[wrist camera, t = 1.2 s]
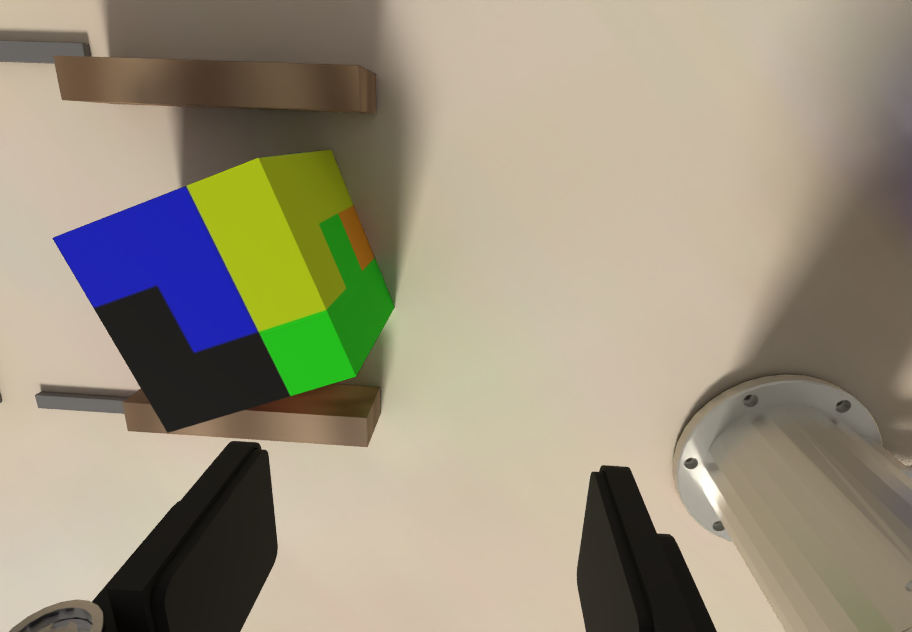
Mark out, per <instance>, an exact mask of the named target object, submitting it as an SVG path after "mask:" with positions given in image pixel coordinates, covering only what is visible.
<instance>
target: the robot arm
mask: <svg viewBox="0 0 912 632" xmlns="http://www.w3.org/2000/svg"><path fill="white" fill-rule="evenodd" d="M673 478H674V483H675V487H676V490H677V492H678V494H679V496H680V499H681V501H682V503H683V504H684V506H685V508H686V509H687V511H688V512H689V514H690V516H691V517H692V518H693V519H694V520H695V521H696V522H697V523H698V524H699V525H700V526H702V527H703V528H704V529H706V530H707V531H709V532H710V533H712V534H714V535H716V536H718V537H721V538H723V539H725V540H728V541H731V542H733V543H734V545H735V546H736V548H737V550H738V551H739V553H740V555H741V556H742V558H743V560H744V562H745V563H746V565H747V567H748V568H749V570H750V572H751V573H752V575H753V577H754V579H755V580H756V582H757V584H758V585H759V587H760V589H761V590H762V592H763V594H764V596H765V597H766V599H767V601H768V602H769V604H770V606H771V607H772V609H773V611H774V613H775V614H776V616H777V618H778V619H779V621H780V623H781V624H782V626H783V628H784V630H785V631H786V632H912V465H911V466H905V465H904V464H903V463H902V462H900V461H899V460H898V459H897V458H895V457H894V456H893V455H892V454H891V453H889V452H888V451H887V450H886V449H884V448H883V447H882V438H881V434H880V431H879V428H878V425H877V423H876V421H875V420H874V418H873V417H872V415H871V414H870V412H869V410H868V409H867V408H865V407H864V406H863V405H862V404H861V403H860V402H859V401H858V400H857V399H856V398H855V397H853V396H852V395H850V394H849V393H847V392H846V391H845V390H843V389H842V388H840V387H838V386H836V385H834V384H831V383H829V382H827V381H825V380H822V379H818V378H813V377H809V376H805V375H788V374H784V375H774V376H765V377H761V378H757V379H754V380H750V381H746V382H744V383H741V384H739V385H737V386H735V387H732V388H730V389H728V390H726V391H724V392H723V393H721V394H720V395H718V396H717V397H715V398H713V399H712V400H710V401H709V402H708V403H707V404H706V405H705V406H704V407H702V408H701V409H700V410H699V411H698V412H697V413H696V414H695V415H694V417H693V418H692V419H691V420H690V422H689V423H688V424H687V426H686V427H685V428H684V430H683V432H682V434H681V436H680V438H679V440H678V442H677V446H676V449H675V453H674V457H673ZM277 549H278V545H277V535H276V525H275V515H274V505H273V495H272V485H271V475H270V465H269V456H268V452H267V451H266V450H261V446H260V444H259V443H256V442H241V441H232V442H230V443H229V444H228V445H227V446H226V447H225V448H224V450H223V451H222V452H221V453H220V454H219V456H218V457H217V458H216V459H215V460H214V461H213V463H212V464H211V465H210V466H209V467H208V469H207V470H206V471H205V472H204V473H203V475H202V476H201V477H200V478H199V479H198V481H197V482H196V483H195V484H194V485H193V486H192V488H191V489H190V490H189V491H188V492H187V494H186V495H185V496H184V497H183V498H182V500H181V501H179V502H177V503H176V504H175V505H174V506H173V507H172V508H171V509H170V510H169V512H168V513H167V514H166V515H165V516H164V518H163V519H162V520H161V521H160V522H159V523H158V525H157V526H156V527H155V528H154V529H153V530H152V532H151V533H150V534H149V535H148V536H147V538H146V539H145V540H144V541H143V542H142V543H141V545H140V546H139V547H138V548H137V549H136V551H135V552H134V553H133V554H132V555H131V556H130V558H129V559H128V560H127V561H126V562H125V564H124V565H123V566H122V567H121V568H120V569H119V571H118V572H117V573H116V574H115V575H114V576H113V578H112V579H111V580H110V581H109V582H108V584H107V585H106V586H105V587H104V588H103V589H102V591H101V592H100V593H99V594H98V595H97V597H96V598H95V599H94V600H93V601H92V602H90V601H85V600H71V601H65V602H60V603H57V604H54V605H51V606H49V607H46V608H43V609H42V610H40V611H38V612H36V613H34V614H32V615H30V616H28V617H27V618H25V619H24V620H23V621H21V622H20V623H19V624H17V625H16V626H15V627H13V628H12V629H11V630H10V631H9V632H240V631H241V629H242V627H243V625H244V623H245V621H246V619H247V617H248V615H249V613H250V611H251V609H252V607H253V605H254V603H255V601H256V599H257V597H258V595H259V593H260V591H261V589H262V587H263V585H264V583H265V581H266V579H267V577H268V575H269V573H270V571H271V569H272V567H273V565H274V563H275V560H276V556H277ZM577 585H578V591H579V597H580V602H581V607H582V612H583V618H584V623H585V628H586V632H717V631H716V629H715V627H714V624H713V622H712V620H711V618H710V615H709V613H708V611H707V609H706V607H705V604H704V602H703V600H702V598H701V596H700V593H699V591H698V589H697V587H696V584H695V582H694V580H693V578H692V576H691V573H690V571H689V569H688V567H687V565H686V562H685V560H684V558H683V556H682V553H681V551H680V549H679V547H678V545H677V543H676V541H675V539H674V538H673V537H672V536H671V535H670V534H657V533H656V530H655V528H654V525H653V523H652V521H651V518H650V516H649V513H648V511H647V508H646V506H645V504H644V501H643V499H642V496H641V494H640V492H639V489H638V487H637V484H636V482H635V479H634V477H633V475H632V472H631V470H630V468H628V467H620V466H605V465H602V466H601V468H600V471H599V472H592V473H591V476H590V482H589V489H588V496H587V503H586V510H585V517H584V525H583V532H582V539H581V546H580V553H579V560H578V567H577Z"/></svg>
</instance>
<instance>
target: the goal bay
mask: <svg viewBox="0 0 912 632" xmlns="http://www.w3.org/2000/svg"><path fill="white" fill-rule="evenodd" d="M53 55H54V56H85V57H91V55H90V49H89V45H88V44H83V43H56V42H24V41H0V62H26V63H55V62H54V57H53ZM35 397H36V401H37V405H38V408H46V409H61V410H76V411H92V412H107V413H122V414H125V413H124V408H123V403H122V402H123V401H125V400H126V399H128V398H129V397H114V396H98V395H83V394H67V393H51V392H40V393H38V394H36V395H35ZM1 402H2V400H1V396H0V403H1Z"/></svg>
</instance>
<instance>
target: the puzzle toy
mask: <svg viewBox="0 0 912 632" xmlns="http://www.w3.org/2000/svg"><path fill="white" fill-rule="evenodd" d="M53 240H54V242H55V243H56V245H57V247H58V248H59V250H60V252H61V254H62V255H63V257H64V259H65V260H66V262H67V264H68V265H69V267H70V269H71V270H72V272H73V274H74V276H75V277H76V279H77V281H78V282H79V284H80V286H81V287H82V289H83V291H84V292H85V294H86V296H87V298H88V299H89V301H90V303H91V304H92V306H93V308H94V309H95V311H96V313H97V314H98V316H99V318H100V320H101V321H102V323H103V325H104V326H105V328H106V330H107V331H108V333H109V335H110V336H111V338H112V340H113V342H114V343H115V345H116V347H117V348H118V350H119V352H120V353H121V355H122V357H123V359H124V360H125V362H126V364H127V365H128V367H129V369H130V370H131V372H132V374H133V375H134V377H135V379H136V381H137V382H138V384H139V386H140V387H141V389H142V391H143V392H144V394H145V396H146V397H147V399H148V401H149V403H150V404H151V406H152V408H153V409H154V411H155V413H156V414H157V416H158V418H159V419H160V421H161V423H162V425H163V426H164V428H165V430H166V431H167V433H169V432H173V431H176V430H179V429H183V428H186V427H189V426H193V425H196V424H199V423H203V422H206V421H209V420H213V419H216V418H219V417H223V416H226V415H229V414H233V413H236V412H239V411H243V410H246V409H249V408H253V407H256V406H259V405H263V404H266V403H270V402H273V401H276V400H280V399H283V398H286V397H290V396H293V395H296V394H300V393H303V392H306V391H310V390H313V389H316V388H320V387H323V386H326V385H330V384H333V383H336V382H340V381H343V380H346V379H350V378H353V377H356V376H357V374H358V372H359V370H360V369H361V367H362V365H363V363H364V361H365V360H366V358H367V356H368V354H369V352H370V351H371V349H372V347H373V345H374V343H375V342H376V340H377V338H378V336H379V334H380V333H381V331H382V329H383V327H384V325H385V324H386V322H387V320H388V318H389V316H390V315H391V313H392V311H393V309H394V304H393V302H392V299H391V297H390V294H389V292H388V289H387V287H386V284H385V282H384V279H383V277H382V274H381V272H380V269H379V267H378V265H377V262H376V260H375V257H374V255H373V252H372V250H371V247H370V245H369V242H368V240H367V237H366V235H365V232H364V230H363V227H362V225H361V222H360V220H359V217H358V215H357V213H356V210H355V208H354V205H353V203H352V200H351V198H350V195H349V193H348V190H347V188H346V185H345V183H344V180H343V178H342V175H341V173H340V170H339V168H338V165H337V163H336V161H335V158H334V156H333V153H332V151H331V150H323V151H314V152H305V153H296V154H287V155H279V156H270V157H261V158H256V159H254V160H251V161H249V162H246V163H244V164H241V165H239V166H236V167H233V168H231V169H228V170H226V171H223V172H221V173H218V174H215V175H213V176H210V177H208V178H205V179H203V180H200V181H197V182H195V183H192V184H190V185H187V186H185V187H182V188H179V189H177V190H174V191H172V192H169V193H167V194H164V195H161V196H159V197H156V198H154V199H151V200H149V201H146V202H143V203H141V204H138V205H136V206H133V207H131V208H128V209H125V210H123V211H120V212H118V213H115V214H113V215H110V216H107V217H105V218H102V219H100V220H97V221H95V222H92V223H89V224H87V225H84V226H82V227H79V228H77V229H74V230H72V231H69V232H66V233H64V234H61V235H59V236H56V237H54V238H53Z"/></svg>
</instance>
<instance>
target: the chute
mask: <svg viewBox="0 0 912 632" xmlns="http://www.w3.org/2000/svg"><path fill="white" fill-rule="evenodd" d="M53 57H54V62H55V67H56V72H57V77H58V82H59V87H60V92H61V97H62V100H70V101H84V102H97V103H111V104H133V105H160V106H187V107H215V108H242V109H269V110H296V111H324V112H351V113H376V74H375V73H373V72H371V71H369V70H367V69H365V68H363V67H361V66H359V65H333V64H302V63H271V62H240V61H209V60H178V59H147V58H116V57H85V56H54V55H53ZM122 403H123V408H124V413H125V418H126V423H127V428H128V431H136V432H151V433H166V434H181V435H196V436H211V437H225V438H240V439H255V440H270V441H285V442H300V443H315V444H329V445H344V446H359V447H368V445H369V442H370V439H371V437H372V434H373V432H374V429H375V427H376V424H377V422H378V419H379V416H380V414H381V405H380V387H370V386H353V385H337V384H330V385H326V386H323V387H320V388H316V389H313V390H310V391H306V392H303V393H300V394H296V395H293V396H290V397H286V398H283V399H280V400H276V401H273V402H270V403H266V404H263V405H259V406H256V407H253V408H249V409H246V410H243V411H239V412H236V413H233V414H229V415H226V416H223V417H219V418H216V419H213V420H209V421H206V422H203V423H199V424H196V425H193V426H189V427H186V428H183V429H179V430H176V431H173V432H169V433H167V431H166V430H165V428H164V426H163V425H162V423H161V421H160V419H159V418H158V416H157V414H156V413H155V411H154V409H153V408H152V406H151V404H150V403H149V401H148V399H147V397H146V396H145V394H144V392H143V391H142V389H140V390H138V391H137V392H136V393H134V394H133V395H132V396H130V397H129V398H128V399H126V400H125V401H123V402H122Z"/></svg>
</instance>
